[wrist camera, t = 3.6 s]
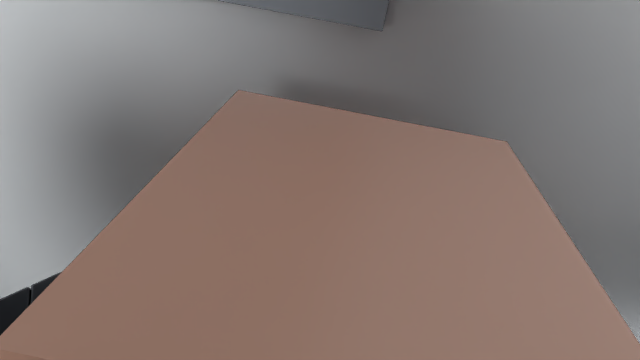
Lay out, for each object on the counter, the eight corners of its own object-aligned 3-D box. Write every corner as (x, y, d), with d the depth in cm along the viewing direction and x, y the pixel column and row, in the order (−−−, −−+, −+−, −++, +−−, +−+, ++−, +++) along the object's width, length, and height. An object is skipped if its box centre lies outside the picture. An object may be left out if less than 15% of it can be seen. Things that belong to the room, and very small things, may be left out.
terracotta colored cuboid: (433, 341, 11) (492, 765, 6) (220, 297, 12) (55, 665, 6) (506, 141, 9) (746, 504, 3) (238, 89, 9) (-11, 348, 3)
